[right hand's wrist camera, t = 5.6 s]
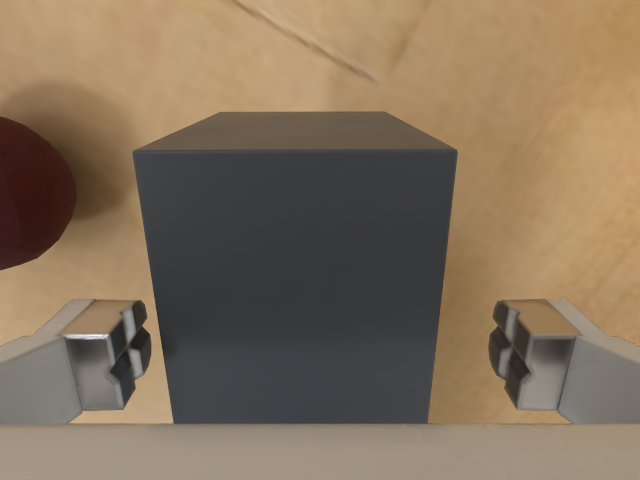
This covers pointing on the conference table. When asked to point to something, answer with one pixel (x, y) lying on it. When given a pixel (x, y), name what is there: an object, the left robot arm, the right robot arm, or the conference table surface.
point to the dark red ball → (31, 194)
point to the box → (297, 265)
